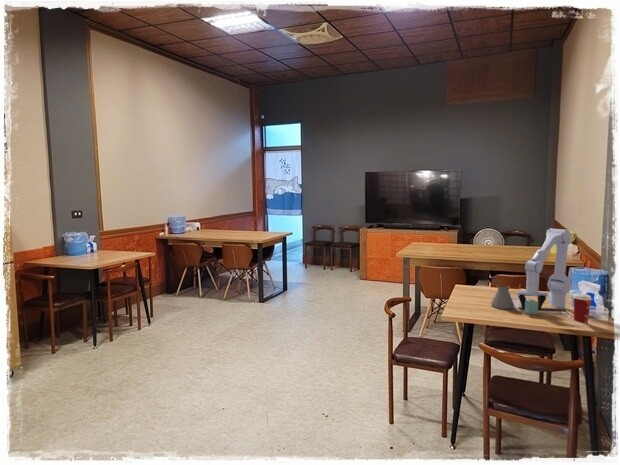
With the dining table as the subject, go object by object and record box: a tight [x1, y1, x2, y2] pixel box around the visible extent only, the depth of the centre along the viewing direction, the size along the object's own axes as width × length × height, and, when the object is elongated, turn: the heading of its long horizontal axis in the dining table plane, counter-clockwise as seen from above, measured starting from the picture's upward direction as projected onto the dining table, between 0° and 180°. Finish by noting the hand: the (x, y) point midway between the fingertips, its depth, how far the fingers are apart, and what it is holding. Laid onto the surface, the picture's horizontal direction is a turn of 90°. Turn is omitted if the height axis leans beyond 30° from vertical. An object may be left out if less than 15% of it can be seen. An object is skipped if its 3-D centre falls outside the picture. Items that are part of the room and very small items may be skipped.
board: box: [517, 306, 574, 318], centre depth 220 cm, size 11×23×3 cm, turn 82°
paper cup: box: [572, 293, 593, 324], centre depth 208 cm, size 8×8×14 cm
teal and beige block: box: [525, 297, 538, 314], centre depth 221 cm, size 7×4×7 cm, turn 172°
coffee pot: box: [490, 276, 515, 310], centre depth 236 cm, size 21×12×15 cm, turn 178°
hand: (531, 309), depth 222 cm, fingers open, 7 cm apart
